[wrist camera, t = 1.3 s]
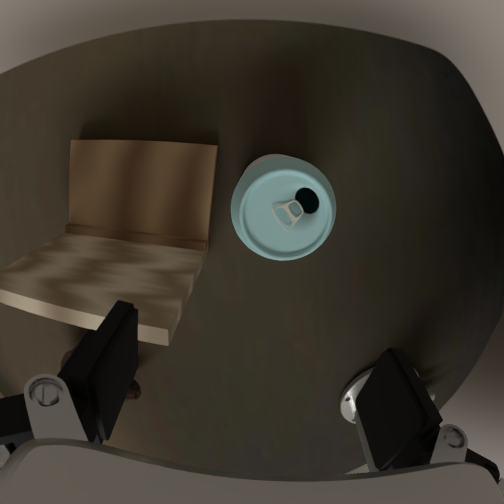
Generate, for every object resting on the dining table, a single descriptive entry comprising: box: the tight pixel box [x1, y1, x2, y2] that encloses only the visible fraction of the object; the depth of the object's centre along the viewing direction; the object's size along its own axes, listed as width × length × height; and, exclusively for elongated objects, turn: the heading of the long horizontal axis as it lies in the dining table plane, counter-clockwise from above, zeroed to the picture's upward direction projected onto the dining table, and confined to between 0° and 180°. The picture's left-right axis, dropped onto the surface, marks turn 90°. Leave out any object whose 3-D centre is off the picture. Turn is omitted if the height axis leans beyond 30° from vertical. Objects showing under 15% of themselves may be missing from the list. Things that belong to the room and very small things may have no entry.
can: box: [231, 154, 336, 260], centre depth 24 cm, size 7×7×12 cm
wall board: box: [0, 140, 219, 346], centre depth 23 cm, size 16×11×16 cm
